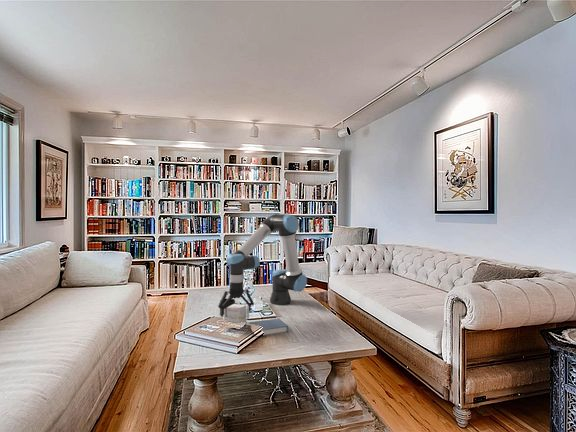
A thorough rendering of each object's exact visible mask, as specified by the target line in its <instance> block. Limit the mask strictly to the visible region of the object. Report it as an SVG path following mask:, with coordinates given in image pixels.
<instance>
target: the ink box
mask: <svg viewBox="0 0 576 432" xmlns="http://www.w3.org/2000/svg"><path fill="white" fill-rule="evenodd" d="M246 313H247V304H239V303H237V304H233V305H231V306H229V307H227V308H226V315H227V317H226V322H227V321H228V322H232V323H241V322H246V323H247V317H246Z"/></svg>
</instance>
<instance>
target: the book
mask: <svg viewBox="0 0 576 432" xmlns="http://www.w3.org/2000/svg"><path fill="white" fill-rule="evenodd" d="M250 324H255V325H259V326H263V328H262V329H261V331H263V332H264V334H263V336H262V337H264V336H270V335H277V334H282V333H287V332H289V325H288V324H287V323H286V322H285V321H283V320H282V319H281V318H280V317H279V318H278V317H277V318H271V319H263V320H258V321H257V320H256V321H251V322H249V325H250Z"/></svg>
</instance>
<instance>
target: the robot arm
mask: <svg viewBox="0 0 576 432" xmlns="http://www.w3.org/2000/svg"><path fill="white" fill-rule="evenodd" d="M299 226H300V224H299V219H298V218H297V217H296V216H295V215H293V214H288V213H287V214H285V213H284V214H283V213H282V214H281V213H275V214H271V215H270V216H268V217H267V218H265V219H264V220H263V221H262V222H261V223H260V224H259V227H258V228H257V229H256V230H255V231H254V232H253V233H252V234H251V235H250V236H249V238H248V239H247V240H245V242H243V244H241V245H240V246H239V248H238V249H237V250H236V251H234V253H229V254H228V255H227V256H226V264H227V265H228V266H229V289H228V290H223V296H222V297H221V299H220V300H221V301H219V303H218V306H217V307H218V308H219V309H220V308H221V313H222V315H223V316H222V320H223V321H225V322H226V318H227V317H226V309H225V307H226V306H227V304H228V303H229V302H230V300H232V299H240V298H241V299H242V300H243V301H244V303H246V319H247V318H248V319H250V312H251V311H252V306H254V305H255V302H254V301H253V299H252V297H251V294H250V291H249V289H248V288H245V289H244V282H243V281H244V271H245V270H252V269H253V270H254V269H256V268H258V267H259V266H260V263H261V262H260V260H261V259H260V258H259V256H257V255H251V253H253V251H255V249H256V248H257V247H258V246H259V245H260V244H261V242H263V241H264V239H266V237H267V236H270V235H271V234H272V233H274V232H278V236H279V237H280V238H281V240H282V248H283V252H284V260H285V264H286V269H275V270H274V271H272V275H271V276H272V278H271V279H272V281H271V282H272V284H271V285H272V287H271V288H272V291H271V294H270V297H269V303H271V304H273V305H277V306H279V305H280V306H283V305H288V304H291V303H292V298H291V295H290V291H294V292H303V291H304V290H305V288H306V287H307V283H308V278H307V276H306V275H305V274H303V270H302V269H301V268H300V264H299V257H298V251H297V244H296V238H295V236H296V234H297V232H298V230H299ZM244 293H245V295H246V296H247V298H248V300H247V298H246V297H245V296H244V295H243V294H244ZM228 294H229V296H228ZM227 296H228V297H227ZM225 299H227V300H226V301H225V303H224V304H223V302H224V300H225ZM222 304H223V305H222Z"/></svg>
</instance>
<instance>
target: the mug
mask: <svg viewBox="0 0 576 432" xmlns="http://www.w3.org/2000/svg"><path fill="white" fill-rule="evenodd" d="M227 299H228V298H225V300H224V302H223V304H224V303H225V301H226V300H227ZM220 301H221V299H220ZM220 301H219V302H220ZM223 304H222V305H223ZM233 304H238V302H236V300H235V298H232V300H230V302H229V303H228V304H227V306H226V307H225V309H226V308H227V307H229V306H231V305H233ZM219 316H221V317H223V315H222V313H221V308H219ZM225 318H227V315H226V317H225Z"/></svg>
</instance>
